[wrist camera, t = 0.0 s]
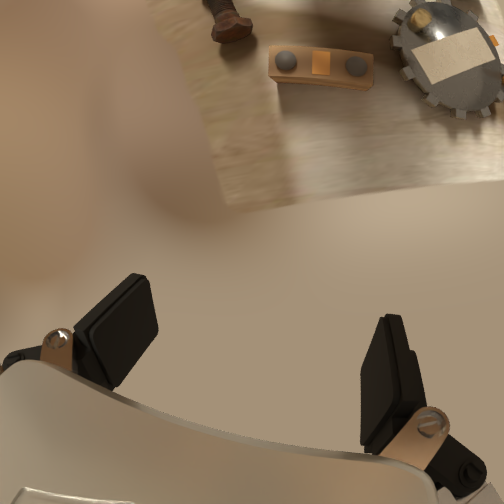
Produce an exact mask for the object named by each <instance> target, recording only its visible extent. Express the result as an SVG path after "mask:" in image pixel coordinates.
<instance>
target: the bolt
mask: <svg viewBox="0 0 504 504" xmlns="http://www.w3.org/2000/svg"><path fill="white" fill-rule="evenodd" d="M207 2H208V4H209V7H210V9H211V11H212V14H213V17H214V19H215V23H216V24H215V25H214V26H213V29H212V33H211V36H212V38H213V41H215V42H218V43H228V42H233V41H236V40H239V39H242V38H244V37H245V36H247V35H248V34H250V33H251V31H252V28H253V24H252V21H251V19H248V18H242V17H240V16H239V14H238V13H237V11H236V9H235V7H234V5H233V2H232V0H207Z"/></svg>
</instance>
